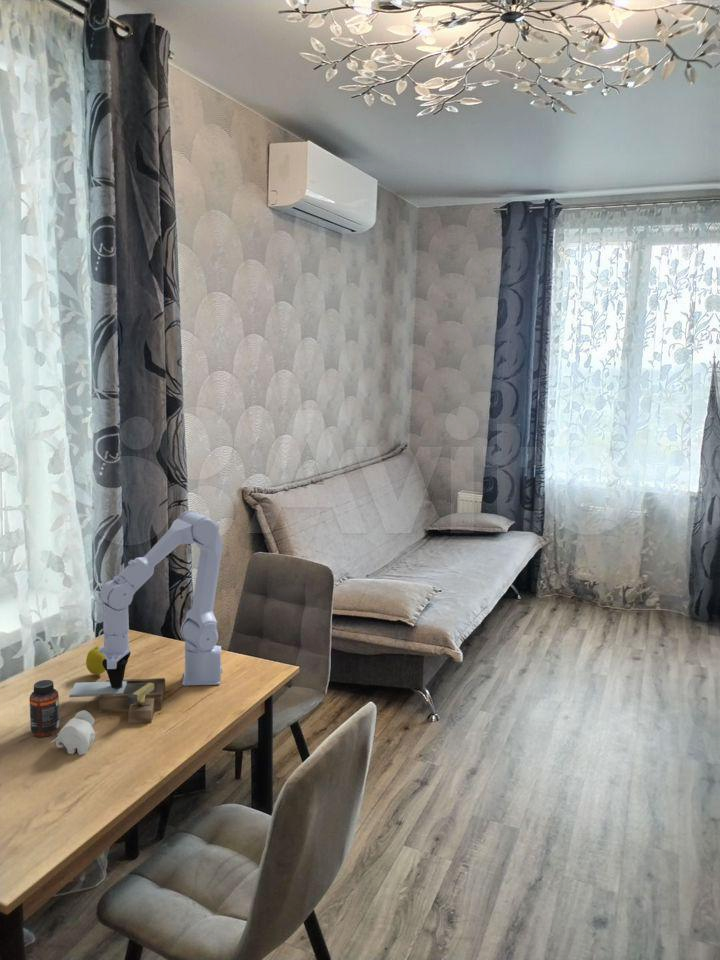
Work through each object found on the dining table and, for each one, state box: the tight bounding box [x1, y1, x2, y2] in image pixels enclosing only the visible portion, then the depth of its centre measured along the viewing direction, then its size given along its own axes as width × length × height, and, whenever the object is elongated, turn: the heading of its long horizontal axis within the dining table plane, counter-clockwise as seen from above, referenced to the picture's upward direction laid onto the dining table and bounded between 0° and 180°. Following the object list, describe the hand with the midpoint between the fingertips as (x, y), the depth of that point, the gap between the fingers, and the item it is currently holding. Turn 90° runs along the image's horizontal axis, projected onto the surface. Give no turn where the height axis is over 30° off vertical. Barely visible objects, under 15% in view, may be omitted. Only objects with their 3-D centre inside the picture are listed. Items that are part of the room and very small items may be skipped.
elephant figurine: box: [49, 710, 98, 756], centre depth 155 cm, size 8×10×7 cm
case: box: [98, 677, 166, 724], centre depth 175 cm, size 14×16×4 cm
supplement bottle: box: [29, 679, 61, 738], centre depth 162 cm, size 6×6×11 cm
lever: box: [127, 683, 154, 706], centre depth 169 cm, size 8×2×4 cm, turn 160°
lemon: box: [85, 646, 106, 677], centre depth 190 cm, size 6×6×8 cm
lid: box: [68, 680, 127, 698], centre depth 176 cm, size 12×6×4 cm, turn 99°
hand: (117, 684), depth 177 cm, fingers closed on lid, 2 cm apart
